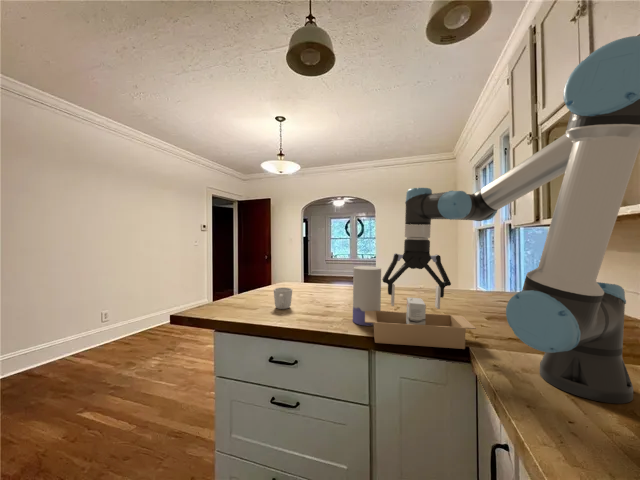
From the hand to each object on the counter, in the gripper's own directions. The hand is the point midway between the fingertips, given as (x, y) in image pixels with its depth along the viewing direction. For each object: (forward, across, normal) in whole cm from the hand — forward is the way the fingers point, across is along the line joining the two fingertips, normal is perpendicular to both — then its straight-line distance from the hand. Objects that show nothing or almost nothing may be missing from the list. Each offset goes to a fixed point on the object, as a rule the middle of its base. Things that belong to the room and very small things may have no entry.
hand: (414, 306), depth 90 cm
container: (+10, +15, -12) cm, 22 cm away
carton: (+10, 0, 0) cm, 10 cm away
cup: (+11, +50, -24) cm, 56 cm away
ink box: (+10, 0, 0) cm, 10 cm away
